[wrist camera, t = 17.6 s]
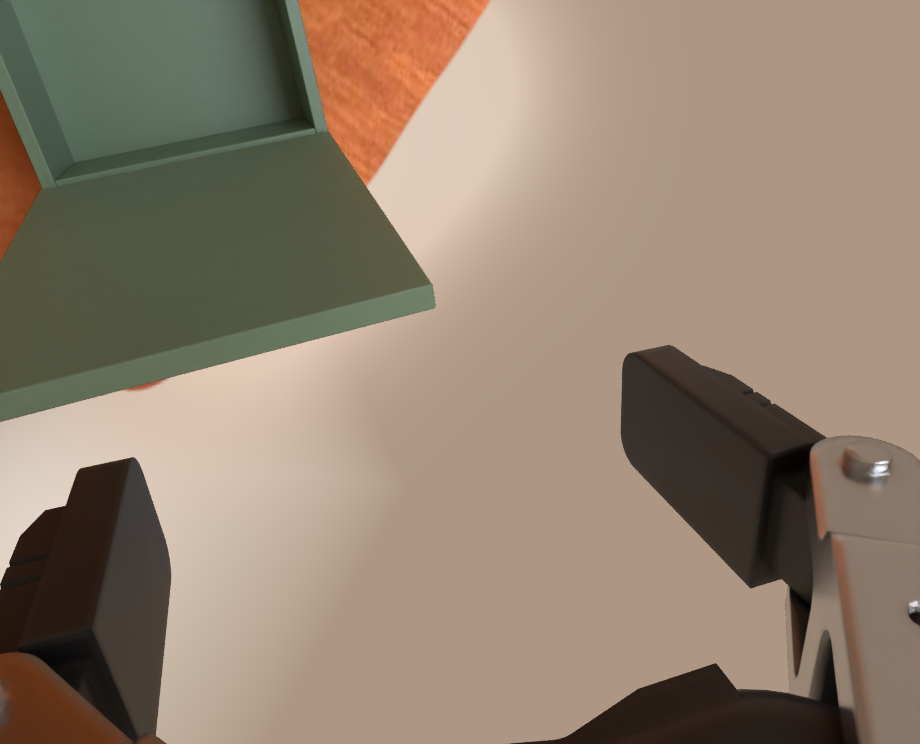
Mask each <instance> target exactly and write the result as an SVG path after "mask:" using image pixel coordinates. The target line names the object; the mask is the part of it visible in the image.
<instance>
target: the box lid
mask: <svg viewBox="0 0 920 744" xmlns="http://www.w3.org/2000/svg"><path fill="white" fill-rule="evenodd" d="M435 306H436V304H435V297H434V291H433V285H432V283H431V282H430V280H429V279H428V278H427V276H426V275H425V273H424V272H423V270H422V269H421V267H420V266H419V264H418V263H417V261H416V260H415V258H414V257H413V255H412V254H411V252H410V251H409V250H408V248H407V246H406V245H405V244H404V242H403V240H402V239H401V238H400V236H399V235H398V233H397V232H396V230H395V229H394V227H393V226H392V224H391V223H390V221H389V220H388V218H387V217H386V215H385V214H384V212H383V211H382V209H381V208H380V206H379V205H378V204H377V202H376V200H375V199H374V198H373V196H372V195H371V193H370V192H369V190H368V189H367V187H366V186H365V184H364V183H363V181H362V180H361V178H360V177H359V175H358V174H357V172H356V171H355V169H354V168H353V166H352V165H351V163H350V162H349V160H348V159H347V157H346V156H345V155H344V153H343V152H342V150H341V149H340V147H339V146H338V144H337V143H336V141H335V140H334V138H333V137H332V135H331V134H330V132H323V133H318V134H313V135H308V136H303V137H298V138H293V139H288V140H284V141H279V142H274V143H269V144H264V145H259V146H254V147H249V148H244V149H240V150H235V151H230V152H225V153H220V154H215V155H210V156H205V157H200V158H196V159H191V160H186V161H181V162H176V163H171V164H166V165H161V166H156V167H152V168H147V169H142V170H137V171H132V172H127V173H122V174H117V175H112V176H107V177H103V178H98V179H93V180H88V181H83V182H78V183H73V184H68V185H63V186H59V187H54V188H49V189H44V190H40V191H39V193H38V195H37V197H36V199H35V200H34V202H33V204H32V206H31V208H30V209H29V211H28V213H27V215H26V217H25V218H24V220H23V222H22V224H21V226H20V228H19V229H18V231H17V233H16V235H15V237H14V238H13V240H12V242H11V244H10V246H9V247H8V249H7V251H6V253H5V255H4V256H3V258H2V260H1V262H0V422H2V421H5V420H9V419H13V418H17V417H21V416H24V415H28V414H32V413H36V412H39V411H44V410H47V409H51V408H55V407H59V406H63V405H66V404H70V403H74V402H78V401H81V400H86V399H90V398H93V397H97V396H101V395H105V394H109V393H112V392H116V391H120V390H124V389H128V388H132V387H135V386H139V385H143V384H147V383H151V382H154V381H158V380H162V379H166V378H170V377H174V376H177V375H181V374H185V373H189V372H193V371H196V370H200V369H204V368H208V367H211V366H215V365H219V364H223V363H227V362H231V361H235V360H238V359H242V358H246V357H250V356H254V355H257V354H261V353H265V352H269V351H273V350H277V349H281V348H284V347H288V346H292V345H296V344H299V343H303V342H307V341H311V340H315V339H319V338H323V337H326V336H330V335H334V334H338V333H342V332H345V331H349V330H353V329H357V328H360V327H365V326H368V325H372V324H376V323H380V322H384V321H387V320H391V319H395V318H399V317H403V316H407V315H410V314H414V313H418V312H422V311H426V310H429V309H433V308H435Z"/></svg>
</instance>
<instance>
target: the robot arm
mask: <svg viewBox="0 0 920 744" xmlns="http://www.w3.org/2000/svg"><path fill="white" fill-rule="evenodd" d="M621 406H622V407H621V439H622V443H623V448H624V450H625V453H626V456H627V458H628V459H629V461H630V463H631V464H632V465H633V467H634V468H635V469H636V470H637V471H638V472H639V473H640V474H641V475H642V476H643V477H644V478H645V479H646V480H647V481H648V482H649V483H650V485H652V487H653V488H654V489H655V490H656V491H657V492H658V493H659V494H660V495H661V496H662V497H663V498H664V499H665V500H666V501H667V502H668V503H669V504H670V505H671V506H672V507H673V508H674V509H675V510H676V512H677V513H678V514H679V515H680V516H681V517H682V518H683V519H684V520H685V521H686V522H687V523H688V524H689V525H690V526H691V527H692V528H693V529H694V530H695V531H696V532H697V533H698V534H699V535H700V536H701V538H702V539H703V540H704V541H705V542H706V543H707V544H708V545H709V546H710V547H711V548H712V549H713V550H714V551H715V552H716V553H717V554H718V555H719V556H720V557H721V558H722V559H723V560H724V561H725V562H726V564H728V566H729V567H730V568H731V569H732V570H733V571H734V572H735V573H736V574H737V575H738V576H739V577H740V578H741V579H742V580H743V581H744V582H745V583H746V584H747V585H748V586H749V587H750V588H754V587H757V586H760V585H763V584H767V583H770V582H773V581H776V580H780V579H782V580H783V581H784V582H786V584H788V588H787V593H786V599H785V616H786V637H787V657H788V679H789V693H783V692H776V691H769V690H749V689H738V690H737V689H736V688H735V687H734V685H733V684H732V683H731V682H730V680H729V679H728V678H727V677H726V675H725V674H724V673H723V672H722V670H721V669H720V668H719V666H718V665H717V664H716V663H715V664H712V665H709V666H706V667H703V668H700V669H697V670H694V671H691V672H688V673H685V674H682V675H679V676H676V677H673V678H670V679H667V680H664V681H661V682H658V683H655V684H652V685H649V686H646V687H643V688H640V689H637V690H636V691H634V692H633V693H631V694H630V695H628V696H627V697H625V698H624V699H622V700H621V701H620V702H618V703H617V704H615V705H614V706H612V707H611V708H609V709H608V710H606V711H605V712H603V713H602V714H600V715H599V716H597V717H596V718H594V719H593V720H591V721H590V722H589V723H587V724H585V725H584V726H582V727H581V728H579V729H578V730H576V731H575V732H573V733H572V734H570V735H568V736H567V737H564V738H561V739H557V740H548V741H537V742H524V743H512V744H920V460H919V459H917V458H916V457H915V456H914V455H913V454H911V453H910V452H908V451H906V450H905V449H903V448H901V447H898V446H896V445H893V444H891V443H888V442H885V441H882V440H878V439H874V438H869V437H861V436H836V437H830V438H826V437H825V436H823V435H822V434H820V433H819V432H817V431H816V430H814V429H813V428H811V427H809V426H808V425H807V424H805V423H804V422H802V421H800V420H799V419H797V418H796V417H794V416H793V415H791V414H790V413H788V412H787V411H785V410H784V409H782V408H780V407H779V406H777V405H776V404H771V402H770V400H768V399H767V398H766V397H764V396H762V395H761V394H759V393H758V392H756V393H754V392H753V389H752V388H750V387H749V386H747V385H746V384H744V383H743V382H741V381H740V380H738V379H737V378H735V377H734V376H732V375H729V374H726V373H723V372H721V371H718V370H715V369H711V368H709V367H706V366H701V365H700V364H699V363H697V362H696V361H694V360H693V359H691V358H690V357H688V356H687V355H685V354H684V353H682V352H681V351H679V350H678V349H676V348H675V347H673V346H671V345H667V346H661V347H657V348H652V349H647V350H643V351H638V352H633V353H629V354H628V355H627V356H626V357H625V359H624V362H623V369H622V404H621ZM9 564H10V567H9V568H7V569H6V571H5V574H4V576H3V579H2V581H1V583H0V586H1V590H0V744H166V743H165V742H163V741H162V740H161V739H160V738H158V737H156V727H157V717H158V706H159V696H160V686H161V676H162V666H163V656H164V646H165V636H166V625H167V615H168V606H169V596H170V586H171V567H170V558H169V553H168V548H167V544H166V540H165V537H164V534H163V531H162V528H161V525H160V522H159V519H158V516H157V513H156V510H155V508H154V504H153V501H152V499H151V495H150V492H149V490H148V487H147V484H146V480H145V477H144V474H143V472H142V469H141V467H140V464H139V463H138V461H137V460H136V459H135V458H133V457H132V458H127V459H123V460H118V461H113V462H109V463H104V464H99V465H94V466H90V467H86V468H81V469H79V471H78V472H77V474H76V478H75V480H74V483H73V486H72V489H71V492H70V495H69V498H68V501H67V504H66V506H63V507H58V508H54V509H49V510H45V511H44V512H43V513H42V514H41V515H40V516H39V517H38V518H37V520H35V522H33V523H32V524H31V525H30V527H29V528H28V529H27V530H26V531H25V532H24V533H23V534H22V535H21V536H20V537H19V540H18V542H17V545H16V547H15V550H14V552H13V554H12V557H11V559H10V562H9Z"/></svg>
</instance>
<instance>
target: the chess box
mask: <svg viewBox="0 0 920 744" xmlns="http://www.w3.org/2000/svg"><path fill="white" fill-rule="evenodd" d="M0 91H1V93H2V95H3V98H4V100H5V102H6V105H7V107H8V109H9V112H10V114H11V116H12V119H13V121H14V123H15V126H16V128H17V130H18V133H19V135H20V137H21V140H22V142H23V144H24V147H25V149H26V151H27V154H28V156H29V158H30V161H31V163H32V165H33V168H34V170H35V172H36V175H37V177H38V179H39V182H40V184H41V186H42V189H43V190H44V189H49V188H54V187H59V186H63V185H68V184H73V183H78V182H83V181H88V180H93V179H98V178H103V177H107V176H112V175H117V174H122V173H127V172H132V171H137V170H142V169H147V168H152V167H156V166H161V165H166V164H171V163H176V162H181V161H186V160H191V159H196V158H200V157H205V156H210V155H215V154H220V153H225V152H230V151H235V150H240V149H244V148H249V147H254V146H259V145H264V144H269V143H274V142H279V141H284V140H288V139H293V138H298V137H303V136H308V135H313V134H318V133H323V132H328V129H327V124H326V120H325V116H324V111H323V107H322V103H321V98H320V94H319V90H318V85H317V81H316V77H315V72H314V68H313V64H312V59H311V55H310V51H309V46H308V42H307V38H306V33H305V29H304V25H303V20H302V16H301V12H300V7H299V3H298V0H0Z"/></svg>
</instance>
